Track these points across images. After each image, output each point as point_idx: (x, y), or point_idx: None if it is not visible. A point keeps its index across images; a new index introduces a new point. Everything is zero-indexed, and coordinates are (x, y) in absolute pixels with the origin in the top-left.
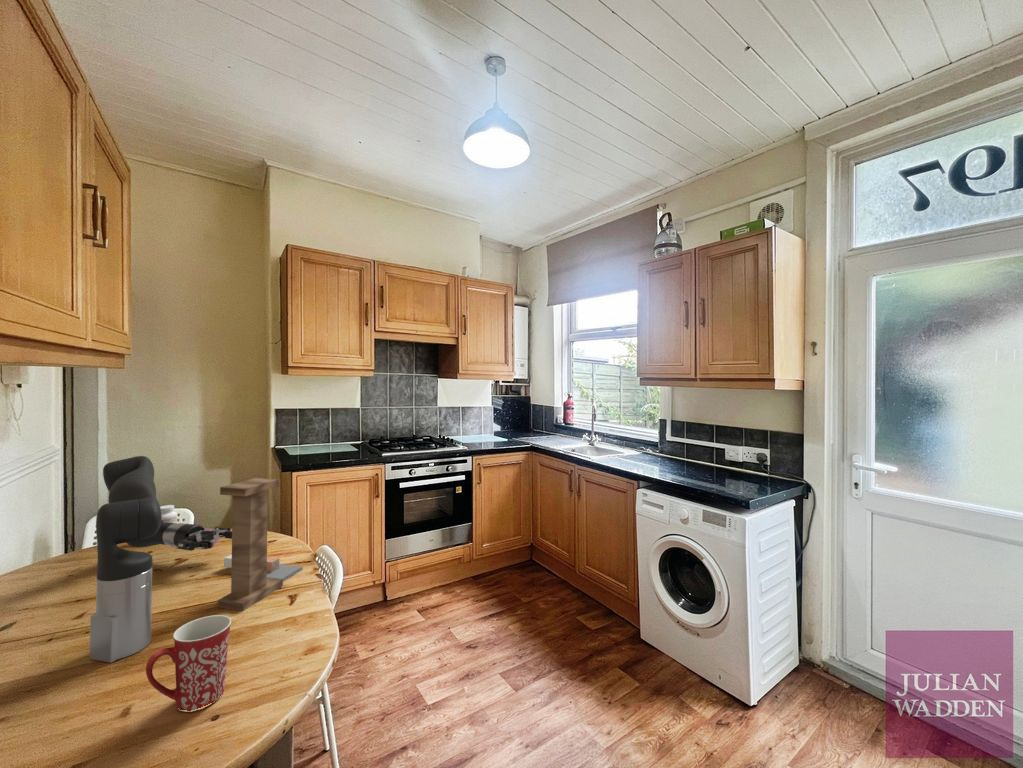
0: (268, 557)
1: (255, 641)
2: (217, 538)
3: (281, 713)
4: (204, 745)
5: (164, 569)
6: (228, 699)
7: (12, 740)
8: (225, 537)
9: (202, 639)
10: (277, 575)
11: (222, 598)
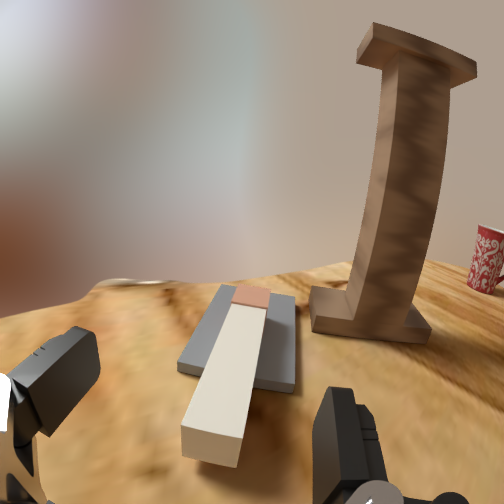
0: (233, 300)
1: (428, 286)
2: (40, 496)
3: (446, 263)
4: None
5: None
6: (466, 279)
7: None
8: (51, 429)
9: (496, 229)
10: (279, 305)
11: (424, 326)
